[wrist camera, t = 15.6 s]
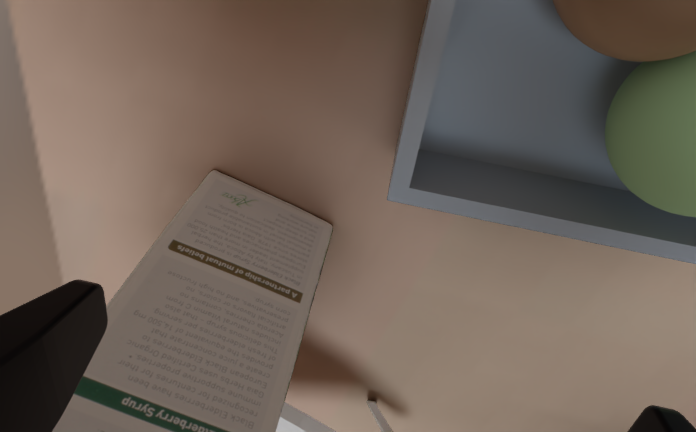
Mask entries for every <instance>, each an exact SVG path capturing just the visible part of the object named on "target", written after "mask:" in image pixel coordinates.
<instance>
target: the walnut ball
mask: <svg viewBox="0 0 696 432" xmlns="http://www.w3.org/2000/svg"><path fill="white" fill-rule="evenodd" d="M552 1H553V4H554V6H555V8H556V11H557V13H558V15H559V16H560V18H561V20H562V21H563V23H564V25H565V26H566V27H567V28H568V30H569V31H570V32H571V33H572V34H573V35H574V36H575V37H576V38H577V39H578V40H579V41H581V42H582V43H583V44H585V45H586V46H588V47H590V48H591V49H593V50H595V51H596V52H599V53H601V54H603V55H606V56H609V57H613V58H617V59H621V60H626V61H635V62H650V61H658V60H666V59H671V58H675V57H679V56H683V55H686V54H689V53H691V52H694V51H696V0H552Z"/></svg>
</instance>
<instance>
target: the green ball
mask: <svg viewBox="0 0 696 432" xmlns="http://www.w3.org/2000/svg"><path fill="white" fill-rule="evenodd" d="M605 145H606V149H607V153H608V157H609V160H610V163H611V165H612V167H613V169H614V171H615V172H616V174H617V176H618V177H619V179H620V180H621V181H622V182H623V183H624V185H625V186H626V187H627V188H628V189H629V190H630V191H631V192H632V193H634V194H635V195H636V196H637V197H639V198H640V199H642V200H643V201H645V202H646V203H648V204H650V205H652V206H654V207H656V208H659V209H661V210H664V211H667V212H669V213H674V214H678V215H683V216H689V217H696V51H694V52H691V53H689V54H686V55H683V56H679V57H675V58H671V59H666V60H658V61H650V62H642V63H641V64H640V65H638V66H637V67H636V68H635V69H634V70H633V71H632V72H631V73H630V74H629V76H628V77H627V78H626V79H625V80H624V82H623V83H622V85H621V86H620V87H619V89H618V91H617V92H616V94H615V96H614V98H613V100H612V102H611V105H610V108H609V110H608V114H607V118H606V125H605Z"/></svg>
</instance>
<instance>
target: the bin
mask: <svg viewBox="0 0 696 432" xmlns="http://www.w3.org/2000/svg"><path fill="white" fill-rule="evenodd" d="M641 63H642V62H635V61H626V60H621V59H617V58H613V57H609V56H606V55H603V54H601V53H599V52H596V51H595V50H593V49H591V48H590V47H588V46H586V45H585V44H583V43H582V42H581V41H579V40H578V39H577V38H576V37H575V36H574V35H573V34H572V33H571V32H570V31H569V30H568V28H567V27H566V26H565V25H564V23H563V21H562V20H561V18H560V16H559V15H558V13H557V11H556V8H555V6H554V4H553V1H552V0H429V1H428V6H427V10H426V15H425V19H424V24H423V28H422V33H421V37H420V42H419V46H418V51H417V55H416V60H415V65H414V69H413V74H412V78H411V83H410V87H409V92H408V96H407V101H406V105H405V110H404V114H403V119H402V123H401V128H400V132H399V137H398V142H397V146H396V151H395V156H394V161H393V167H392V173H391V179H390V185H389V191H388V196H387V200H388V201H393V202H398V203H403V204H408V205H412V206H417V207H422V208H427V209H432V210H437V211H442V212H446V213H451V214H456V215H461V216H466V217H471V218H475V219H480V220H485V221H490V222H495V223H500V224H504V225H509V226H514V227H519V228H524V229H529V230H533V231H538V232H543V233H548V234H553V235H558V236H562V237H567V238H572V239H577V240H582V241H587V242H591V243H596V244H601V245H606V246H611V247H616V248H620V249H625V250H630V251H635V252H640V253H645V254H649V255H654V256H659V257H664V258H669V259H674V260H678V261H683V262H688V263H693V264H696V217H689V216H683V215H678V214H674V213H669V212H667V211H664V210H661V209H659V208H656V207H654V206H652V205H650V204H648V203H646V202H645V201H643V200H642V199H640V198H639V197H637V196H636V195H635V194H634V193H632V192H631V191H630V190H629V189H628V188H627V187H626V186H625V185H624V183H623V182H622V181H621V180H620V179H619V177H618V176H617V174H616V172H615V171H614V169H613V167H612V165H611V163H610V160H609V157H608V153H607V149H606V145H605V125H606V118H607V114H608V110H609V108H610V105H611V102H612V100H613V98H614V96H615V94H616V92H617V91H618V89H619V87H620V86H621V85H622V83H623V82H624V80H625V79H626V78H627V77H628V76H629V74H630V73H631V72H632V71H633V70H634V69H635V68H636V67H637V66H638V65H640V64H641Z"/></svg>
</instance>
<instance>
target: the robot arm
mask: <svg viewBox="0 0 696 432" xmlns="http://www.w3.org/2000/svg"><path fill="white" fill-rule="evenodd" d="M107 324H108V316H107V310H106V303H105V297H104V291H103V288H102V287H101V285H99V284H97V283H93V282H88V281H84V280H74V281H71V282H69V283H67V284H65V285H62V286H60V287H58V288H56V289H54V290H52V291H50V292H48V293H46V294H44V295H42V296H40V297H38V298H36V299H34V300H32V301H29V302H27V303H26V304H23V305H21V306H19V307H17V308H15V309H13V310H11V311H9V312H7V313H5V314H2V315H0V432H52V431H53V429H54V428H55V426H56V425H57V423H58V421H59V420H60V418H61V416H62V415H63V413H64V411H65V409H66V407H67V406H68V404H69V402H70V400H71V398H72V396H73V394H74V392H75V390H76V388H77V386H78V384H79V382H80V381H81V379H82V377H83V375H84V373H85V371H86V369H87V367H88V365H89V363H90V361H91V359H92V357H93V355H94V353H95V351H96V349H97V347H98V345H99V343H100V341H101V340H102V338H103V336H104V334H105V331H106V328H107ZM628 432H696V429H695V428H694V427H693V426H692V424H691V423H690V422H689V421H688V420H687V419H686V418H685V417H684V416H683V415H682V414H680V413H679V412H678V411H675V410H672V409H668V408H663V407H659V406H654V405H651V406H649V407H646V408H645V409H644V410H643V412H642V413H641V414H640V416H639V417H638V418H637V420H636V421H635V422H634V424H633V425H632V426H631V428H630V429H629V430H628Z"/></svg>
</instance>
